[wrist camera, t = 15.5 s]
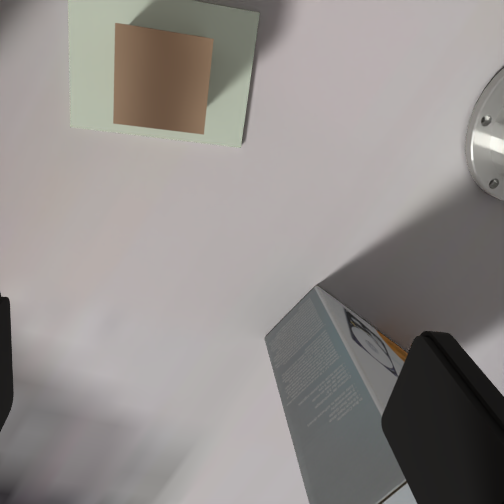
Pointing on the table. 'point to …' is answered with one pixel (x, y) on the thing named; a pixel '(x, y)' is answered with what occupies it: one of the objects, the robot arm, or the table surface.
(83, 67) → the mat
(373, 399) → the hard drive box
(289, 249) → the table surface
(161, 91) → the walnut block
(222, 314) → the table surface
